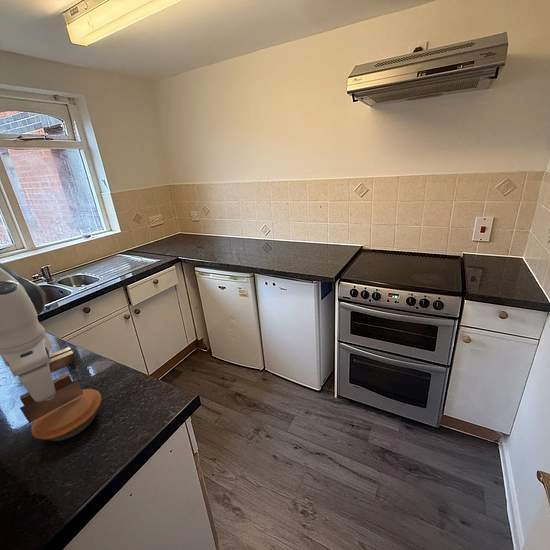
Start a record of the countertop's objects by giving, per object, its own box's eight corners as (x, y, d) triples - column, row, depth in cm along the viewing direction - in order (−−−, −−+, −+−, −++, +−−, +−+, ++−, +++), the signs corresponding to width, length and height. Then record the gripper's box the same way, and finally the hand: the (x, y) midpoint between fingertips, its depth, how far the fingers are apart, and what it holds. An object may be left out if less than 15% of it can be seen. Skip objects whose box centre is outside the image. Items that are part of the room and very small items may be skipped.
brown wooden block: (29, 424, 72) (15, 402, 69) (29, 421, 73) (14, 398, 70) (84, 395, 79) (73, 373, 76) (83, 392, 80) (72, 370, 77)
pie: (23, 441, 74) (13, 427, 72) (79, 394, 87) (72, 381, 85) (65, 456, 68) (56, 441, 66) (118, 403, 81) (112, 389, 79)
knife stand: (27, 386, 93) (21, 374, 92) (25, 377, 98) (20, 366, 96) (77, 364, 102) (73, 353, 100) (74, 357, 106) (69, 346, 105)
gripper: (7, 338, 74) (30, 382, 79) (11, 374, 60) (38, 425, 65) (38, 328, 78) (57, 370, 83) (48, 359, 64) (71, 408, 69)
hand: (49, 395), depth 74 cm, fingers closed on brown wooden block, 2 cm apart
